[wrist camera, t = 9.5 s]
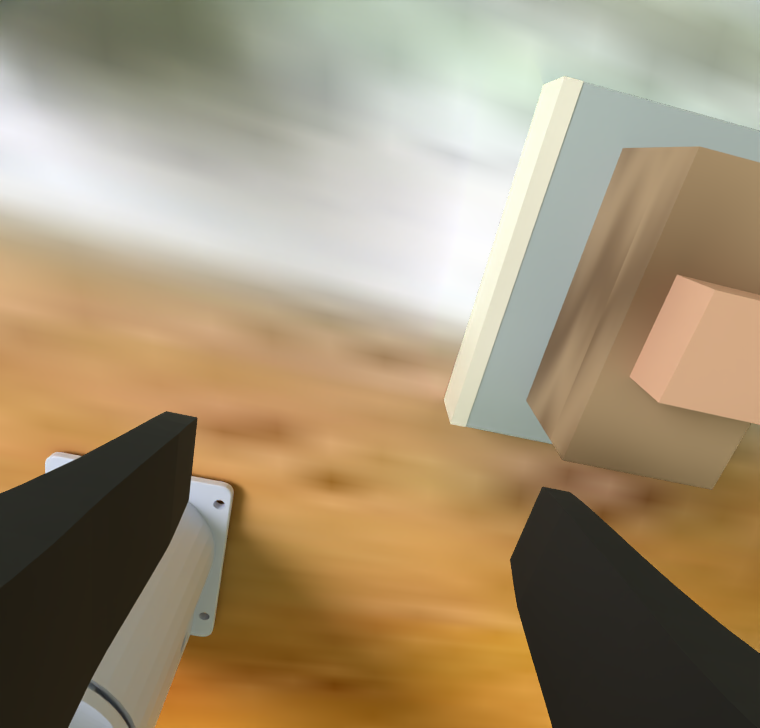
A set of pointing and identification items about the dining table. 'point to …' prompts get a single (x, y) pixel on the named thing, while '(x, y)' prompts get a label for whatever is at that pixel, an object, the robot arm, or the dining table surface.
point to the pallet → (647, 313)
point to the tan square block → (704, 351)
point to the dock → (557, 237)
